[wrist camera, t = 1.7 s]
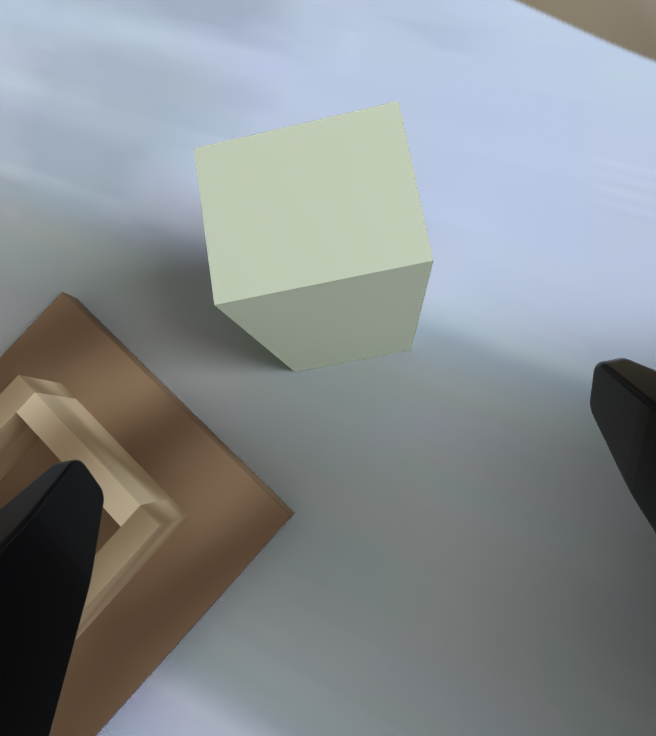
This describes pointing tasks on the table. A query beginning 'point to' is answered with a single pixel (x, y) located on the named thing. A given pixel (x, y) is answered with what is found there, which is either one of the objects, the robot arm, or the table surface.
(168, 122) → the table surface
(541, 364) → the table surface
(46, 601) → the robot arm
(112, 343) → the dock
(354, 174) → the sage key block
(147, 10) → the table surface
